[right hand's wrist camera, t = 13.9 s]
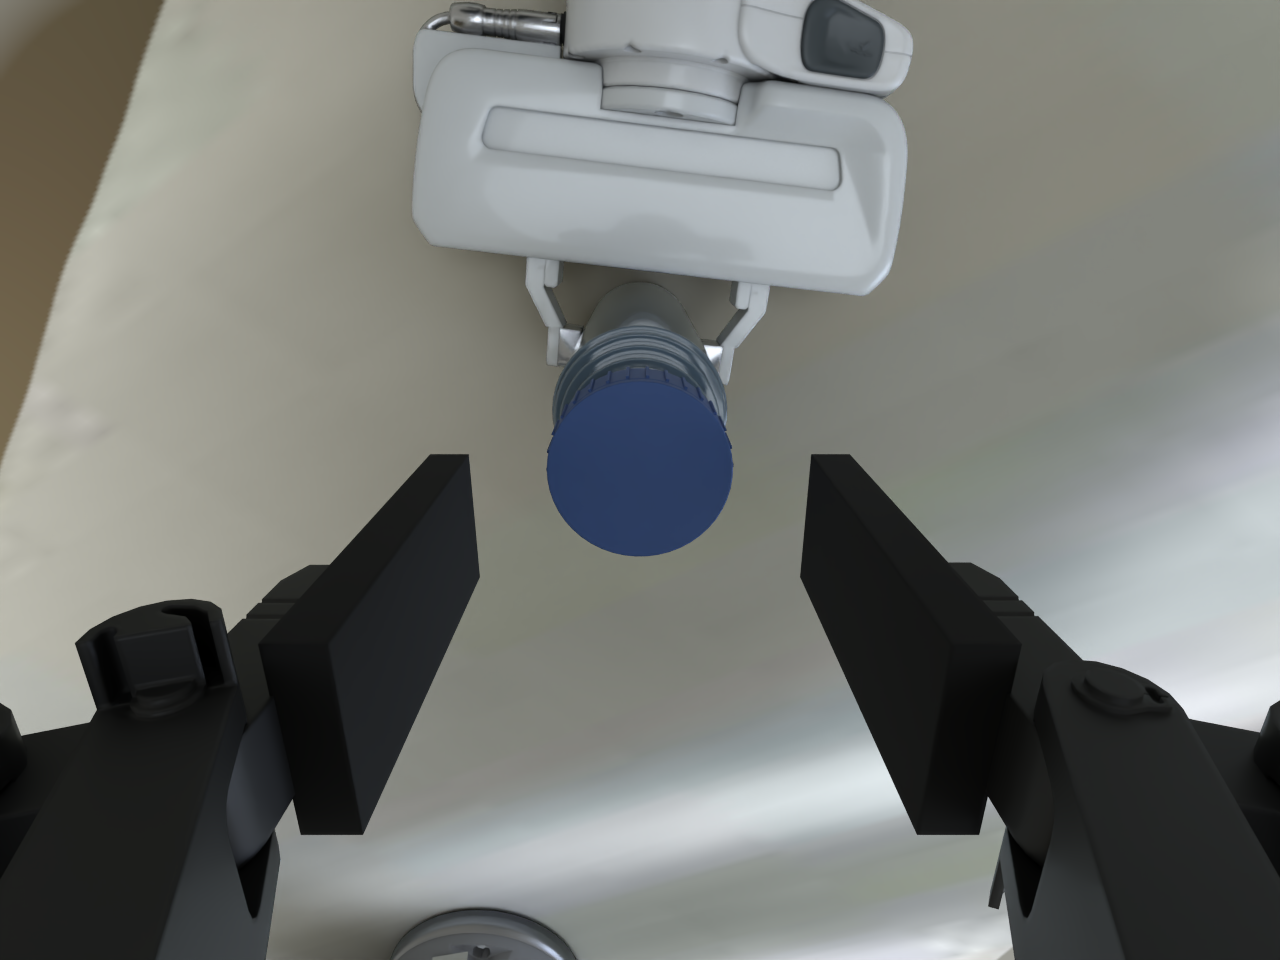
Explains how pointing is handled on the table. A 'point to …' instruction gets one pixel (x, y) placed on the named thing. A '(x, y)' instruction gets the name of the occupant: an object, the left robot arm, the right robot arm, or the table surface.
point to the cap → (639, 462)
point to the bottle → (639, 344)
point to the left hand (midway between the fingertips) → (638, 373)
